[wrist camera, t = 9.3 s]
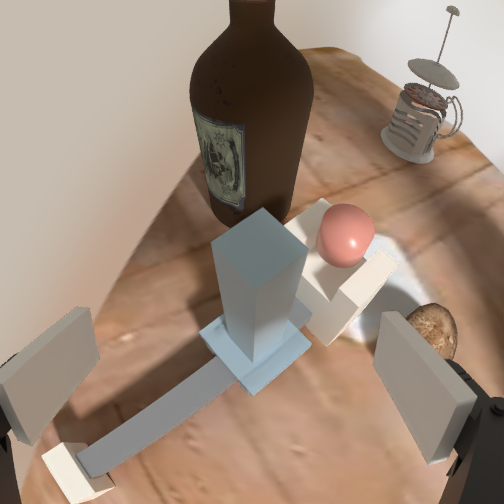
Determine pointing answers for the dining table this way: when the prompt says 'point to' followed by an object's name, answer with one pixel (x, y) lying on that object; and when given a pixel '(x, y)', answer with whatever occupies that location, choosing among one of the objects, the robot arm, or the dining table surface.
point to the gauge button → (344, 235)
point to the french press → (413, 136)
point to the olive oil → (251, 114)
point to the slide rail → (216, 373)
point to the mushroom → (436, 328)
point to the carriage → (257, 300)
